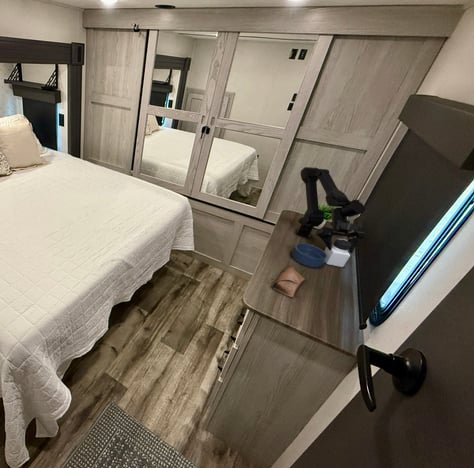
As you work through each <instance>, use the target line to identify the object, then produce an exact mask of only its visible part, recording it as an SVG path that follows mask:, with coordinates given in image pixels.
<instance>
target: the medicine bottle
mask: <svg viewBox="0 0 474 468" xmlns="http://www.w3.org/2000/svg"><path fill="white" fill-rule="evenodd" d="M347 240H348V239H344V238H336V239H335V240H334V243H332V250H329V249H328V247H327V246H326V247H325V249H324V250H323V251H324V252H325V253H326V254H327V259H326V260H325V262H324V263H325V264H326V265H329V266H335V267H339V268H344V267H345V265H346V264H347V263H348V261H349V259H350V257H351V253H350V252H348V251H349V248H350V247H351V243H350V242H349V241H347Z"/></svg>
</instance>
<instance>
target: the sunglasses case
mask: <svg viewBox="0 0 474 468" xmlns="http://www.w3.org/2000/svg"><path fill="white" fill-rule="evenodd" d="M305 280H306V278H305V277H303V276H302V275H301V274H300V273H299V272H298V271H296V269H294V268H293V266H292V265H287V266H286V267H285V269H284V270H283V271H282V272H281V273H280V275H279V276H278V277H277V278H276V280H275V281H274V283H273V284H272V289H273V290H275V291H277V292H278V293H280V294H282V295H284V296H287V297H289V298H294V296H295V294H296V292H297V290H298V289H299V287H300V286H301V284H302V283H304V281H305Z"/></svg>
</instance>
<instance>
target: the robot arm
mask: <svg viewBox="0 0 474 468" xmlns="http://www.w3.org/2000/svg"><path fill="white" fill-rule="evenodd" d="M300 179H301V180H302V182H303V183H304V184H305V196H306V207H307V208H306V211H304V214H303V215H304V216H302V217H300V218H298V221H297V222H298V223H299V224H300V225H299V228H298V229H297V230H296V235H297V236H302V237H305V238H306V239H311V234H312V231H313V230H314V227H316V228H318V227H320V226H321V225H322V224H323V223H324V222H325V211H324V210H323V209H320V208H319V207H320V206H319V196H318V185H317V182H318V181H319V183H320V185H321V186H322V188H323V190H324V192H325V198H324V199H325V202H326V205H327V207H331V208H330V209H329V210H328V211H327V213H328V214H331V221H330V223H329V225H330V226H331V227H325V226H323V227H321V228H318V229H316V230H315V236H318V238H320V239H321V241H322V242H323V243H324V245H325V246H326V247H328V249H329V250H332V245H333V243H332V242H333V241H332V240H333V236H338V237H346V238H347V239H346V240H347V241H349V242H350V243H351V247H350V248H349V250H348V251H349V254H353V253H354V250H355V249H356V246H357V244H358V242H359V241H362V240H363V239H364V238H363V237H364V236H365V234H366V233H365V232H364V231H358V230H362V228H363V224H362V223H363V222H361V221H360V222H358V221H355V222H354V223H352V222H351V221H350V220H348V218H352V217H355V216H358V215H362V214H363V213H365V212H366V206H365V205H364V204H363V203H362V202H361V201H360V200H359V199H353V200H350V199H349V198H348V196H347V195H346V194H345V192H343V191H341V190H340V189H339V188H338V187H337V185H336V182H335V181H334V179H333V178H332V176H331V174H330V170H329V169H327V168H318V167H312V166H305V167H303V168H302V169H301V170H300Z"/></svg>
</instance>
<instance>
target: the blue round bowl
mask: <svg viewBox="0 0 474 468" xmlns="http://www.w3.org/2000/svg"><path fill="white" fill-rule="evenodd" d="M324 251H325V250H323V249H321V248H320V247H318V246H315V245H312V244H309V243H305V242H304V243H296V244H295V246H294V248H293V249H292V251H291V253H290V255H291V257H292V258H293V260H295V262H298V263H299V264H301V265H304V266H307V267H311V268H321V267H322V266H323V265H324V264H325V263H326V262H325V260H326V259H327V254H326V253H325V252H324Z"/></svg>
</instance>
